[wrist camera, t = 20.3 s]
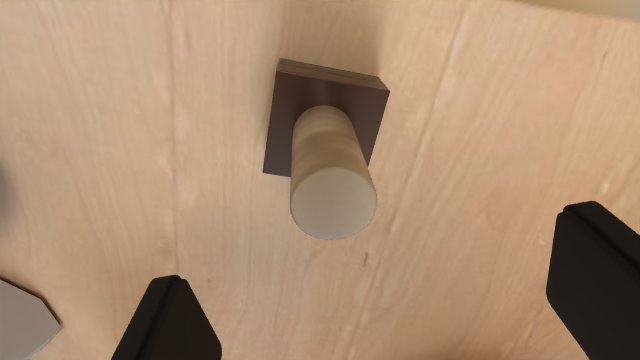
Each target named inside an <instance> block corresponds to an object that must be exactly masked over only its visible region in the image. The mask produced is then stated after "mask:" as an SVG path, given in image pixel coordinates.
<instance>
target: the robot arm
mask: <svg viewBox="0 0 640 360" xmlns="http://www.w3.org/2000/svg"><path fill="white" fill-rule="evenodd" d="M546 295H547V299H548V301H549V303H550V305H551V307H552V308H553V309H554V311H555V312H556V314H557V315H558V316H559V318H560V319H561V320H562V322H563V323H564V325H565V326H566V327H567V329H568V330H569V331H570V333H571V334H572V336H573V337H574V338H575V340H576V341H577V342H578V344H579V345H580V347H581V348H582V349H583V351H584V352H585V354H586V355H587V356H588V358H589V359H590V360H640V235H638V234H637V233H636V232H635V231H633V230H632V229H631V228H630V227H628V226H627V225H626V224H625V223H623V222H622V221H621V220H620V219H618V218H617V217H616V216H615V215H613V214H612V213H611V212H609V211H608V210H607V209H606V208H604V207H603V206H602V205H601V204H599V203H598V202H596V201H588V202H582V203H577V204H571V205H567V206H565V207H564V209H563V212H561V213H559V214H558V215H557V219H556V225H555V232H554V239H553V246H552V253H551V259H550V266H549V273H548V280H547V287H546ZM221 357H222V347H221V344H220V341H219V339H218V337H217V336H216V334H215V332H214V330H213V328H212V326H211V324H210V323H209V321H208V319H207V317H206V315H205V313H204V311H203V309H202V308H201V306H200V304H199V302H198V300H197V298H196V296H195V294H194V293H193V291H192V289H191V287H190V285H189V283H188V282H187V280H185V279H181V278H180V277H179V276H178V275H170V276H165V277H159V278H154V279H153V280H152V281H151V282H150V284H149V286H148V288H147V290H146V292H145V294H144V296H143V298H142V300H141V302H140V303H139V305H138V307H137V309H136V311H135V313H134V315H133V317H132V319H131V321H130V323H129V325H128V327H127V329H126V331H125V333H124V335H123V337H122V339H121V341H120V343H119V345H118V347H117V348H116V350H115V352H114V354H113V356H112V358H111V360H221Z"/></svg>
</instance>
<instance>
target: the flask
mask: <svg viewBox="0 0 640 360" xmlns="http://www.w3.org/2000/svg"><path fill="white" fill-rule="evenodd" d="M61 329H62V328H61V326H60V325H59V324H58V322H57V321H56V320H55V318H54V317H53V315H52V314H51V313H50V311H49V310H48V309H47V307H46V306H45V304H44V303H43V302H42V300H41V299H39V298H37V297H35V296H33V295H31V294H29V293H27V292H25V291H23V290H20V289H18V288H16V287H14V286H12V285H10V284H8V283H6V282H4V281H2V280H0V360H28V359H29V358H31V357H32V356H33V355H34V354H36V353H37V352H38V351H39V350H41V349H42V348H43V347H44V346H45V345H46V344H47V343H48V342H49V341H50V340H51V339H52V338H53V337H54V336H55V335H56V334H57V333H58V332H59V331H60V330H61Z"/></svg>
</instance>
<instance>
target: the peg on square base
mask: <svg viewBox="0 0 640 360" xmlns="http://www.w3.org/2000/svg"><path fill="white" fill-rule="evenodd" d="M389 93H390V91H389V89H388V88H387V87H386V86H385V84H384V83H383V82H382V81H381V80H380V78H379V77H374V76H369V75H364V74H359V73H353V72H348V71H343V70H338V69H333V68H327V67H322V66H317V65H312V64H307V63H302V62H296V61H291V60H286V59H279V63H278V67H277V71H276V78H275V85H274V93H273V100H272V107H271V115H270V122H269V129H268V136H267V144H266V151H265V158H264V166H263V173H266V174H273V175H280V176H286V177H291V184H290V211H291V215H292V217H293V219H294V221H295V222H296V224H297V225H298V226H299V227H300V228H301V229H302V230H303V231H304V232H306V233H307V234H309V235H311V236H313V237H316V238H319V239H324V240H339V239H344V238H347V237H350V236H353V235H355V234H357V233H358V232H360V231H361V230H362V229H364V228H365V227H366V226H367V225H368V224H369V222H370V221H371V220H372V218H373V216H374V214H375V211H376V207H377V194H376V190H375V188H374V185H373V182H372V179H371V176H370V173H369V170H368V165H369V162H370V158H371V155H372V151H373V148H374V145H375V141H376V138H377V134H378V131H379V127H380V124H381V121H382V117H383V114H384V110H385V107H386V103H387V100H388V97H389Z"/></svg>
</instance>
